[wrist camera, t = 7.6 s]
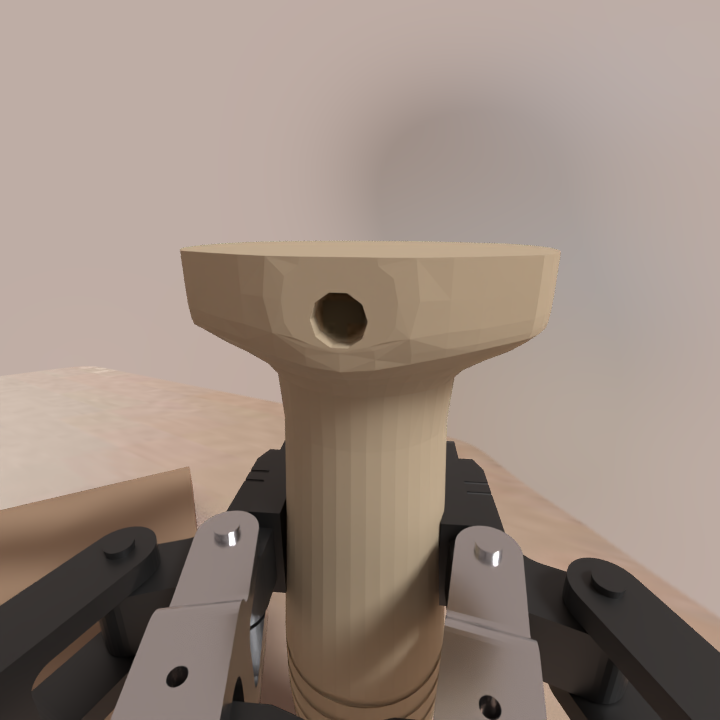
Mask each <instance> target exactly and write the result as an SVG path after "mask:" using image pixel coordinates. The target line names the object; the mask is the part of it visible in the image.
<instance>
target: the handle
mask: <svg viewBox="0 0 720 720" xmlns="http://www.w3.org/2000/svg"><path fill="white" fill-rule="evenodd" d="M180 252H181V259H182V266H183V274H184V281H185V287H186V293H187V299H188V305H189V309H190V313H191V317H192V319H193V322H194V324H196V325H197V326H199V327H201V328H203V329H205V330H207V331H208V332H210V333H212V334H214V335H216V336H217V337H219V338H221V339H223V340H225V341H226V342H228V343H230V344H233V345H235V346H237V347H239V348H241V349H243V350H245V351H247V352H249V353H251V354H253V355H254V356H256V357H258V358H260V359H261V360H263V361H265V362H267V363H268V364H270V365H271V367H273V369H274V370H275V371H276V372H277V373H278V376H279V382H280V387H281V394H282V401H283V407H284V414H285V447H286V510H287V591H286V639H287V654H288V666H289V676H290V684H291V690H292V695H293V701H294V706H295V711H296V716H298V717H300V718H303V719H305V720H385V719H389V718H394V717H395V718H405V719H415V720H432V717H433V713H434V708H435V699H436V691H437V683H438V675H439V666H440V658H441V650H442V642H443V634H444V606H441V605H439V564H438V560H439V542H440V526H441V518H442V515H443V513H444V505H445V473H446V436H447V416H448V410H449V405H450V399H451V394H452V388H453V382H454V377H455V376H456V375H457V374H459V373H460V372H461V371H462V370H464V369H466V368H468V367H471V366H473V365H475V364H478V363H480V362H482V361H484V360H487V359H490V358H492V357H495V356H498V355H501V354H503V353H506V352H508V351H511V350H512V349H514V348H516V347H518V346H520V345H522V344H524V343H526V342H527V341H529V340H530V339H532V338H533V337H535V336H536V335H538V334H539V333H541V332H542V331H543V330H544V329H545V328H546V326H547V323H548V320H549V317H550V313H551V308H552V303H553V297H554V291H555V286H556V278H557V273H558V266H559V260H560V250H557V249H553V248H547V247H540V246H531V245H530V246H529V245H518V244H498V243H462V242H460V243H459V242H418V241H283V242H281V241H279V242H242V243H225V244H211V245H200V246H192V247H186V248H182V249H180Z"/></svg>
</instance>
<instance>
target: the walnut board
mask: <svg viewBox="0 0 720 720" xmlns="http://www.w3.org/2000/svg"><path fill="white" fill-rule="evenodd" d="M134 526H141V527H146V528H149V529H151V530H152V531H153V532H154V533H155V535H156V538H157V543H158V544H161V543H166V542H172V541H178V540H183V539H188V538H192V537H194V536H195V534H196V532H197V522H196V513H195V504H194V495H193V487H192V480H191V474H190V468H189V467H185V468H180V469H176V470H172V471H168V472H163V473H159V474H155V475H150V476H146V477H142V478H137V479H133V480H129V481H124V482H120V483H116V484H111V485H107V486H103V487H99V488H94V489H90V490H86V491H81V492H77V493H73V494H68V495H64V496H60V497H55V498H51V499H47V500H42V501H38V502H34V503H30V504H25V505H21V506H17V507H12V508H8V509H4V510H0V605H2V604H3V603H5V602H6V601H8V600H9V599H11V598H12V597H14V596H15V595H17V594H18V593H20V592H21V591H23V590H24V589H26V588H27V587H29V586H30V585H32V584H33V583H35V582H36V581H38V580H39V579H41V578H42V577H44V576H45V575H47V574H48V573H50V572H51V571H53V570H54V569H56V568H57V567H59V566H60V565H62V564H63V563H65V562H66V561H68V560H69V559H71V558H72V557H74V556H75V555H77V554H78V553H80V552H81V551H83V550H84V549H86V548H87V547H89V546H90V545H91V544H93V543H94V542H96V541H97V540H99V539H100V538H102V537H104V536H105V535H107V534H109V533H111V532H114V531H116V530H119V529H123V528H127V527H134ZM100 631H101V628H100V625H99V621H98V622H97V623H95V624H94V625H93V626H92V627H91V628H89V629H88V630H87V631H86V632H85V633H83V634H82V635H81V636H80V637H79V638H78V639H76V640H75V641H74V642H73V643H72V644H70V645H69V646H68V647H67V648H66V649H64V650H63V651H62V652H61V653H60V654H58V655H57V656H56V657H55V658H54V659H53V660H51V661H50V662H49V663H48V664H47V665H46V666H45V667H44V668H43V669H42V671H41V672H40V673H39V675H38V676H37V678H36V680H35V682H34V684H33V687H32V690H33V689H35V688H36V687H37V686H38V685H39V684H40V683H42V682H43V681H44V680H45V679H46V678H47V677H49V676H50V675H51V674H52V673H53V672H54V671H55V670H57V669H58V668H59V667H60V666H61V665H62V664H64V663H65V662H66V661H67V660H68V659H69V658H70V657H72V656H73V655H74V654H75V653H76V652H77V651H79V650H80V649H81V648H82V647H83V646H84V645H85V644H87V643H88V642H89V641H90V640H91V639H92V638H94V637H95V636H96V635H97V634H98V633H99V632H100ZM113 712H114V710H113V711H112V712H111V713H110V714H109V715H108V716H107V717H106V718H105V719H104V720H110V719H111V717H112V714H113Z"/></svg>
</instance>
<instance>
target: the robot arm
mask: <svg viewBox="0 0 720 720" xmlns="http://www.w3.org/2000/svg"><path fill="white" fill-rule="evenodd" d="M438 564H439V605H441V606H446V609H447V614H446V618H445V625H444V634H443V642H442V650H441V658H440V666H439V675H438V683H437V691H436V699H435V708H434V716H433V720H547V717H546V707H545V698H544V689H543V682H546V683H548V684H549V687H550V689H551V691H552V692H553V694H554V696H555V697H556V699H557V700H558V702H559V703H560V705H561V706H562V708H563V709H564V711H565V712H566V714H567V715H568V717H569V718H570V720H720V652H719V651H717V650H716V649H715V648H714V647H713V646H712V645H711V644H710V643H708V642H707V641H706V640H705V639H704V638H703V637H702V636H701V635H699V634H698V633H697V632H696V631H695V630H694V629H693V628H691V627H690V626H689V625H688V624H687V623H686V622H685V621H684V620H682V619H681V618H680V617H679V616H678V615H677V614H676V613H675V612H673V611H672V610H671V609H670V608H669V607H668V606H667V605H666V604H664V603H663V602H662V601H661V600H660V599H659V598H658V597H657V596H655V595H654V594H653V593H652V592H651V591H650V590H649V589H648V588H646V587H645V586H644V585H643V584H642V583H641V582H640V581H638V580H637V579H636V578H635V577H634V576H633V575H631V574H630V573H629V572H627V571H626V570H624V569H623V568H621V567H619V566H617V565H615V564H613V563H610V562H608V561H605V560H601V559H597V558H580V559H577V560H575V561H573V562H572V563H571V564H570V565H569V567H568V569H567V572H566V571H562V570H559V569H556V568H553V567H550V566H546V565H543V564H541V563H538V562H535V561H533V560H531V559H529V558H528V557H526V556H524V555H523V553H522V550H521V548H520V546H519V545H518V543H517V542H516V541H515V540H514V539H513V538H512V537H510V536H509V535H507V534H506V533H505V532H504V529H503V526H502V523H501V520H500V517H499V514H498V511H497V508H496V505H495V503H494V500H493V497H492V495H491V491H490V488H489V485H488V482H487V479H486V476H485V473H484V471H483V469H482V468H481V467H480V466H479V465H478V464H477V463H476V462H475V461H474V460H473V459H458V455H457V451H456V447H455V443H454V442H453V441H446V473H445V505H444V513H443V515H442V518H441V526H440V542H439V560H438ZM286 591H287V510H286V447H285V442H284V443H283V445H282V447H281V449H280V450H275V449H270V450H269V451H267V452H266V453H265V454H263V455H262V456H261V457H259V458H258V459H257V461H256V462H255V464H254V466H253V467H252V469H251V472H250V473H249V474H248V476H247V478H246V481H244V483H243V484H242V486H241V488H240V489H239V491H238V493H237V495H236V496H235V498H234V500H233V501H232V503H231V505H230V506H229V508H228V510H227V511H226V512H223V513H220V514H217V515H215V516H213V517H211V518H209V519H208V520H206V521H205V522H204V523H203V524H202V525H201V526H200V527H199V528H198V530H197V532H196V534H195V536H194V537H192V538H188V539H183V540H178V541H172V542H166V543H161V544H158V543H157V538H156V535H155V533H154V532H153V531H152V530H151V529H149V528H146V527H141V526H134V527H127V528H123V529H119V530H116V531H114V532H111V533H109V534H107V535H105V536H104V537H102V538H100V539H99V540H97V541H96V542H94V543H93V544H91V545H90V546H89V547H87V548H86V549H84V550H83V551H81V552H80V553H78V554H77V555H75V556H74V557H72V558H71V559H69V560H68V561H66V562H65V563H63V564H62V565H60V566H59V567H57V568H56V569H54V570H53V571H51V572H50V573H48V574H47V575H45V576H44V577H42V578H41V579H39V580H38V581H36V582H35V583H33V584H32V585H30V586H29V587H27V588H26V589H24V590H23V591H21V592H20V593H18V594H17V595H15V596H14V597H12V598H11V599H9V600H8V601H6V602H5V603H3V604H2V605H0V720H104V719H105V718H106V717H107V716H108V715H109V714H110V713H111V712H112V711H113V710H114V712H113V714H112V717H111V719H110V720H305V719H303V718H300V717H298V716H296V715H294V714H291V713H289V712H287V711H285V710H283V709H280V708H278V707H276V706H274V705H269V704H260V694H261V683H262V673H263V662H264V652H265V642H266V631H267V621H268V612H267V607H268V604H269V601H270V598H271V595H272V592H282V593H286ZM98 621H99V625H100V628H101V631H100V632H99V633H98V634H97V635H96V636H95V637H94V638H92V639H91V640H90V641H89V642H88V643H87V644H85V645H84V646H83V647H82V648H81V649H80V650H79V651H77V652H76V653H75V654H74V655H73V656H72V657H70V658H69V659H68V660H67V661H66V662H65V663H64V664H62V665H61V666H60V667H59V668H58V669H57V670H55V671H54V672H53V673H52V674H51V675H50V676H49V677H47V678H46V679H45V680H44V681H43V682H42V683H40V684H39V685H38V686H37V687H36V688H35V689H33V690H32V687H33V684H34V682H35V680H36V678H37V676H38V675H39V673H40V672H41V671H42V669H43V668H44V667H45V666H46V665H47V664H48V663H49V662H50V661H51V660H53V659H54V658H55V657H56V656H57V655H58V654H60V653H61V652H62V651H63V650H64V649H66V648H67V647H68V646H69V645H70V644H72V643H73V642H74V641H75V640H76V639H78V638H79V637H80V636H81V635H82V634H83V633H85V632H86V631H87V630H88V629H89V628H91V627H92V626H93V625H94V624H95V623H97V622H98ZM385 720H415V719H405V718H395V717H394V718H389V719H385Z"/></svg>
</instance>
